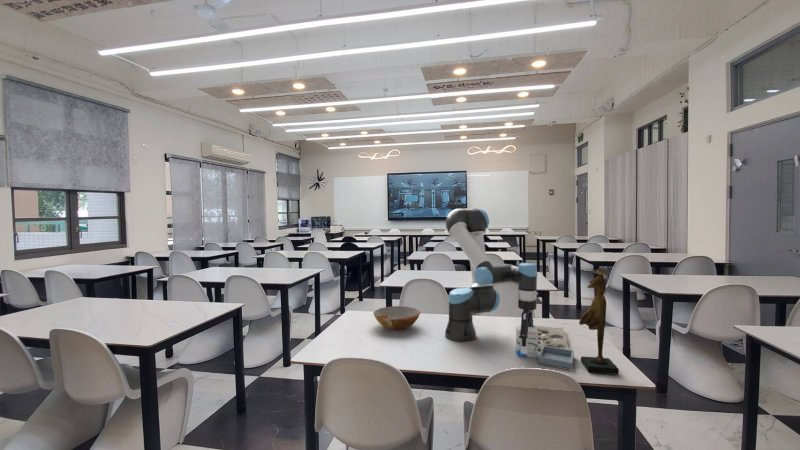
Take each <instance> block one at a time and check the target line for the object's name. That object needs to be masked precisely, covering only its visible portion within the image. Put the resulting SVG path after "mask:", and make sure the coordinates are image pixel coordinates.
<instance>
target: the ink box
mask: <svg viewBox="0 0 800 450" xmlns="http://www.w3.org/2000/svg"><path fill="white" fill-rule="evenodd" d="M515 328H516V329H515V354H516V356H517V357H522V358H523V357H524V358H537V359H538V356H539V354H538V353H539V351H538V341H539V340H538V330H537V329H536V328H535V327H528V336H527V338H528V354H523V353H521V338H519V336H520V331H521V325H518V326H516V327H515ZM523 336H525V335H523Z"/></svg>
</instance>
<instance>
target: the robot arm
mask: <svg viewBox="0 0 800 450" xmlns="http://www.w3.org/2000/svg"><path fill="white" fill-rule="evenodd" d="M489 225H490V218H489V216H488V213H487V212H486V211H485V210H484V209H482V208H476V207H474V208H472V207H471V208H455V209H453V210H451V211H450V212H449V213H448V214H447V216H446V218H445V227H446V230H447V232H448V234H449V235H450V236H451V237H453V238H454V239H455V241H456V242H457V244H458V246H459V247H460V249H461V250H462V251H463V253H464V255H465V256H466V258H467V259H468V261H469V266H470V272H471V280H472V284H471V285H470V286H469V288H468V287H457V288H454V289H452V290H450V292H449V294H448V301H447V302H448V321H447V325H446V328H445V335H444V336H445V337H446V339H449V340H451V341H455V342H471V341H474V340H475V339H477V332H476V328H475V325H474V321H473V315H476V314H484V313H490V312H494V311H496V310H497V308H498V307H499V305H500V302H501V301H500V300H501V299H500V298H501V297H500V293H499V291H498V290H497V289H496V288H495V287H494V284H495V285H496V284H503V283H515V284H518V285H517V286H518V287H517V290H518V291H517V298H518V300H517V307H518V308H519V309H520V310H522V313H521V321H520V326H521V331H520V336H519V338H521V353H523V354H528V338H527V336H528V327H534V326H535V325H534V317H533V311H535V310H537V304H538V303H537V296H538V295H539V293H538V292H537V287H538V286H537V285H538V284H537V283H538V269H537V268H538V267H537V265H536V264H535V263H532V262H531V263H530V262H521V263H519V264H518V265H513V264H511V263H508V264H507V263H503V264H502V265H497V266H495V265H493V264H492V263H491V261H490V260H489V258H488V257H487V255H486V254H487V253H486V246H485V239H484V235H485V234H486V233H487V232H486V230H487V229H488V228H489ZM523 335H525V336H523Z"/></svg>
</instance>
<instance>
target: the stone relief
mask: <svg viewBox="0 0 800 450" xmlns="http://www.w3.org/2000/svg"><path fill="white" fill-rule="evenodd" d="M533 326H534V327H535V328H536V329H537V330H538V350H541V348H542V345H543V346H549V347H555V348H562V349H568V350H570V348H569V345H568V338H567V335H566V333H565V330H564V327H563V326H561V327H551V326H543V325H542V326H540V325H533ZM543 334H544V335H543Z"/></svg>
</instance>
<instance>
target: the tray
mask: <svg viewBox="0 0 800 450" xmlns="http://www.w3.org/2000/svg"><path fill="white" fill-rule="evenodd" d="M538 353H539V354H538V357H537V359H538V360H537V365H541V364H542V365H541V366H546V365H548V366H547V367H552V366H554V367H553V368H557V367H561V368H560V369H562V368H567V369H566V370H568V369H572V370H573V365H574V359H575V357H574V356H575V350H573V349H569V350H568V349H562V348H555V347H549V346H543V345H542V348H541V349H540V351H539V352H538Z"/></svg>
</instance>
